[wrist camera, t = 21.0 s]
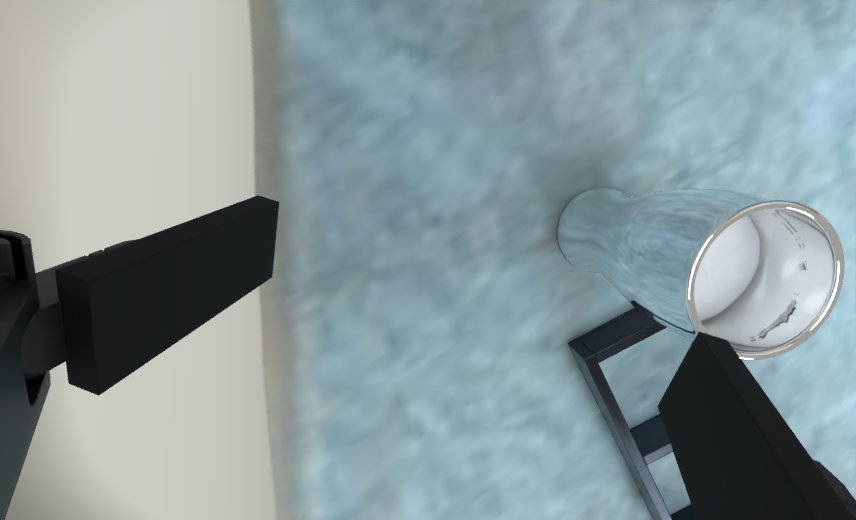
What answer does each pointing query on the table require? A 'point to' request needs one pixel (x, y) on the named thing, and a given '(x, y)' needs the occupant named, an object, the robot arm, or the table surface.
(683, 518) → the black divided tray
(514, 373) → the table surface
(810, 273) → the beer glass
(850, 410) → the table surface
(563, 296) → the table surface
